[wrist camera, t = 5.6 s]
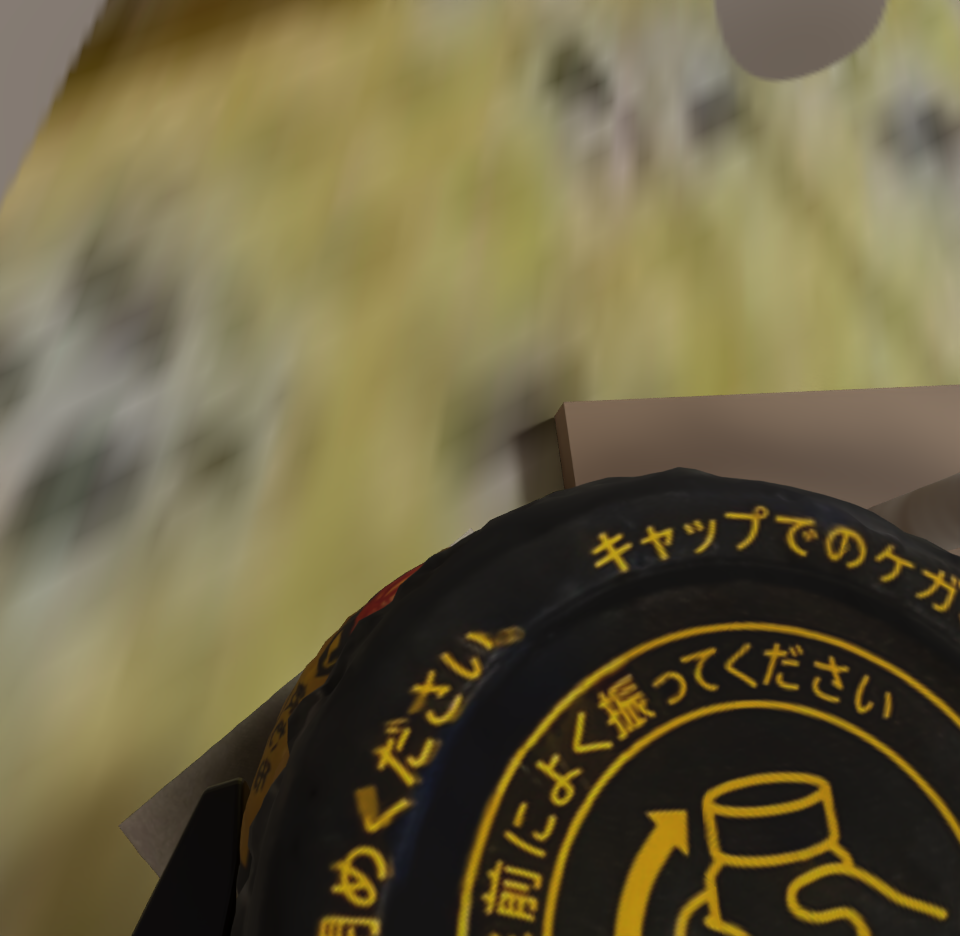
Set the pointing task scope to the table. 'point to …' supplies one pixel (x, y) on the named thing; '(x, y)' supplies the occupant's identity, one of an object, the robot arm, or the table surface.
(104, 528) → the table surface
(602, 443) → the locating plate
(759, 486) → the condiment
